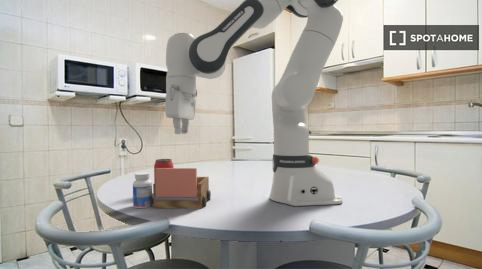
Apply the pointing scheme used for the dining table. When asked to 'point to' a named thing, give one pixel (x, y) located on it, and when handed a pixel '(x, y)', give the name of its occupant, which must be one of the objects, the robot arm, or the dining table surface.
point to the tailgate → (176, 184)
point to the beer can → (162, 165)
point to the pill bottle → (142, 190)
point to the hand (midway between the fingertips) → (181, 133)
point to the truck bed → (202, 195)
